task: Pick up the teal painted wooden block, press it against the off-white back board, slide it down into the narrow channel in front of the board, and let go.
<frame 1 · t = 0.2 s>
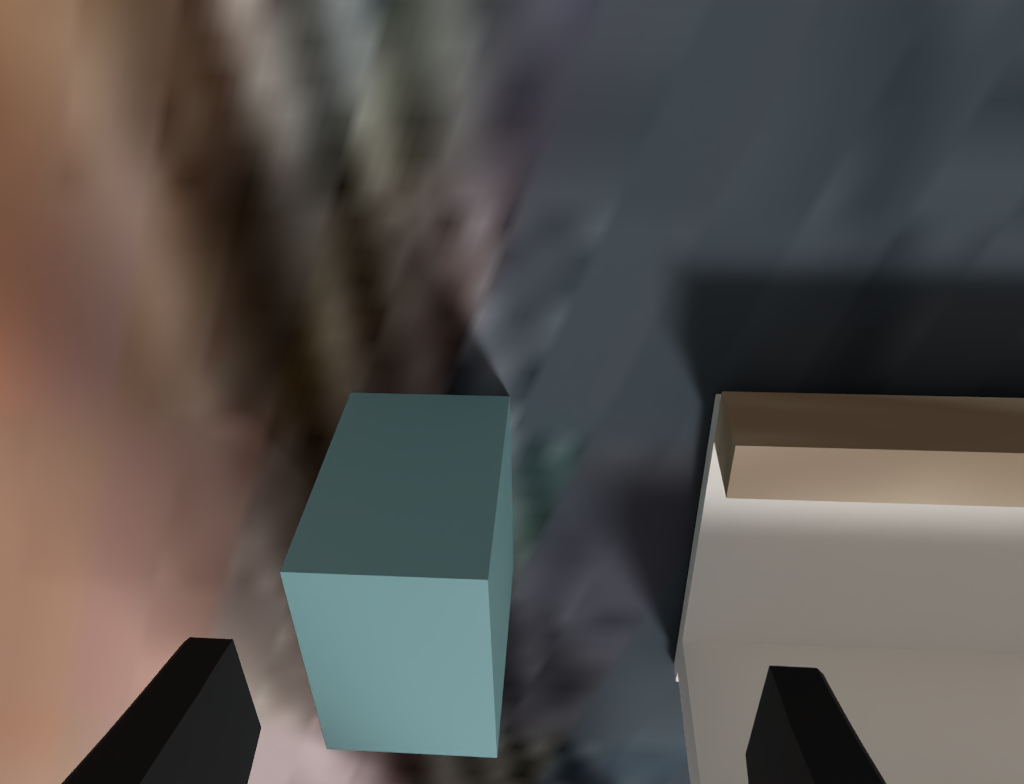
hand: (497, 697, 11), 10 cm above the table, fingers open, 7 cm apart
teal block: (438, 483, 22), on the table
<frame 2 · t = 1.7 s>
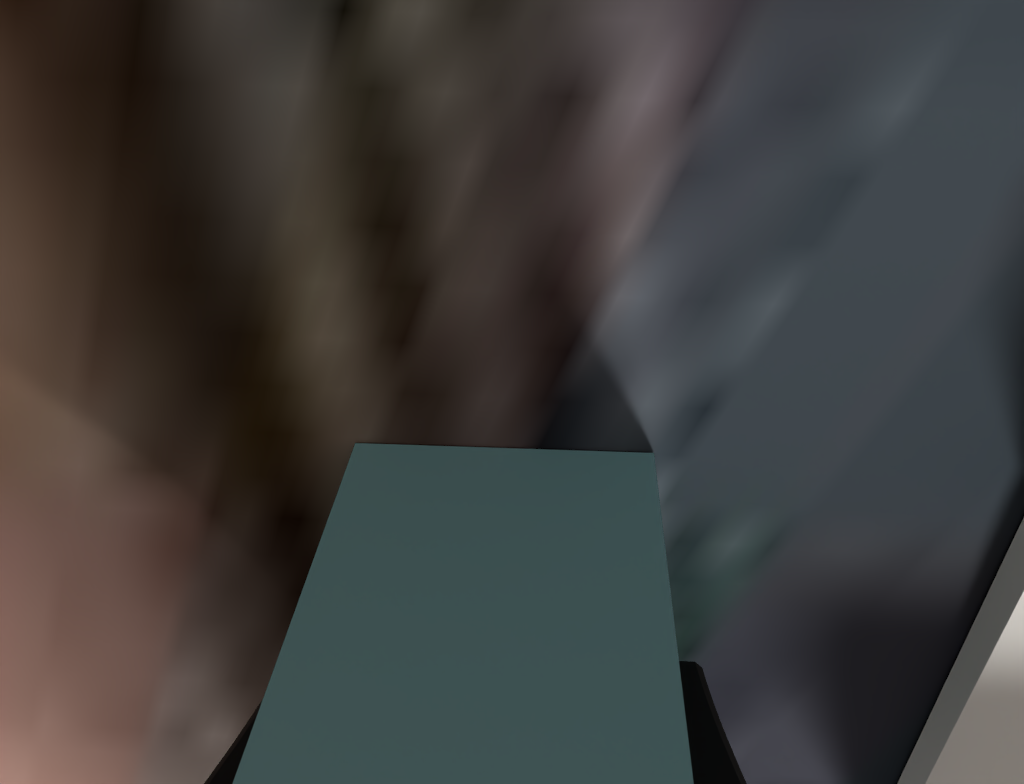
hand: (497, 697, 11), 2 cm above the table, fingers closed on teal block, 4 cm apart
teal block: (506, 599, 13), on the table, touching gripper
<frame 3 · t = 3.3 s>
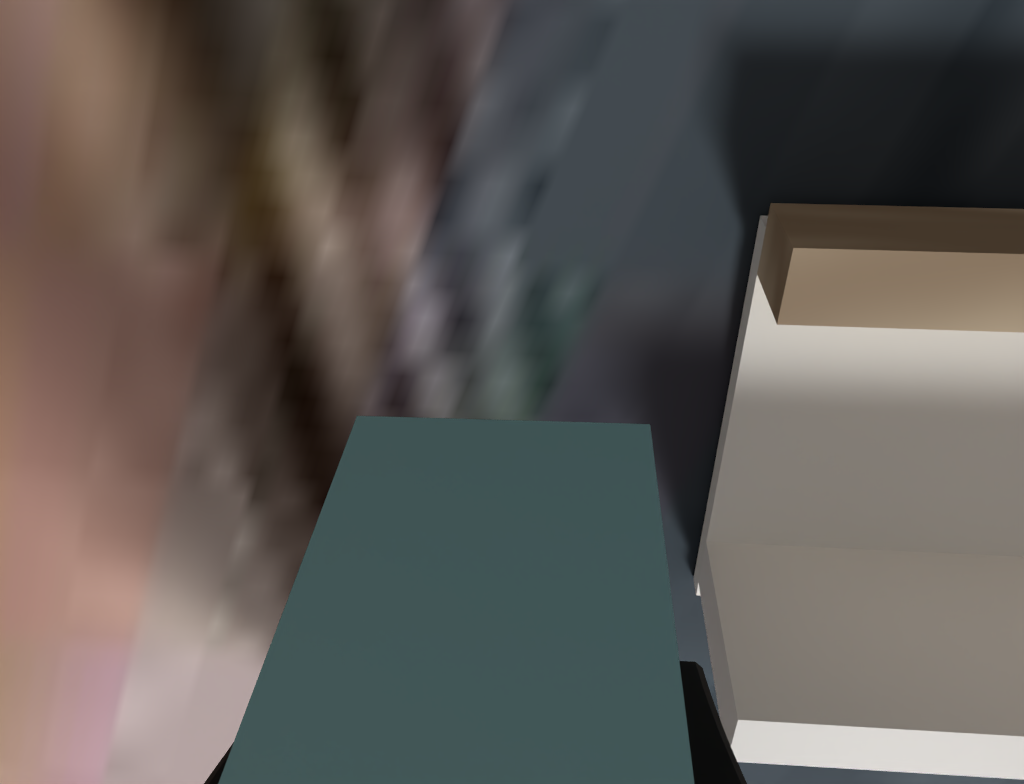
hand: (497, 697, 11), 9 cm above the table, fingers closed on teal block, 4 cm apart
teal block: (505, 573, 13), point 7 cm above the table, touching gripper
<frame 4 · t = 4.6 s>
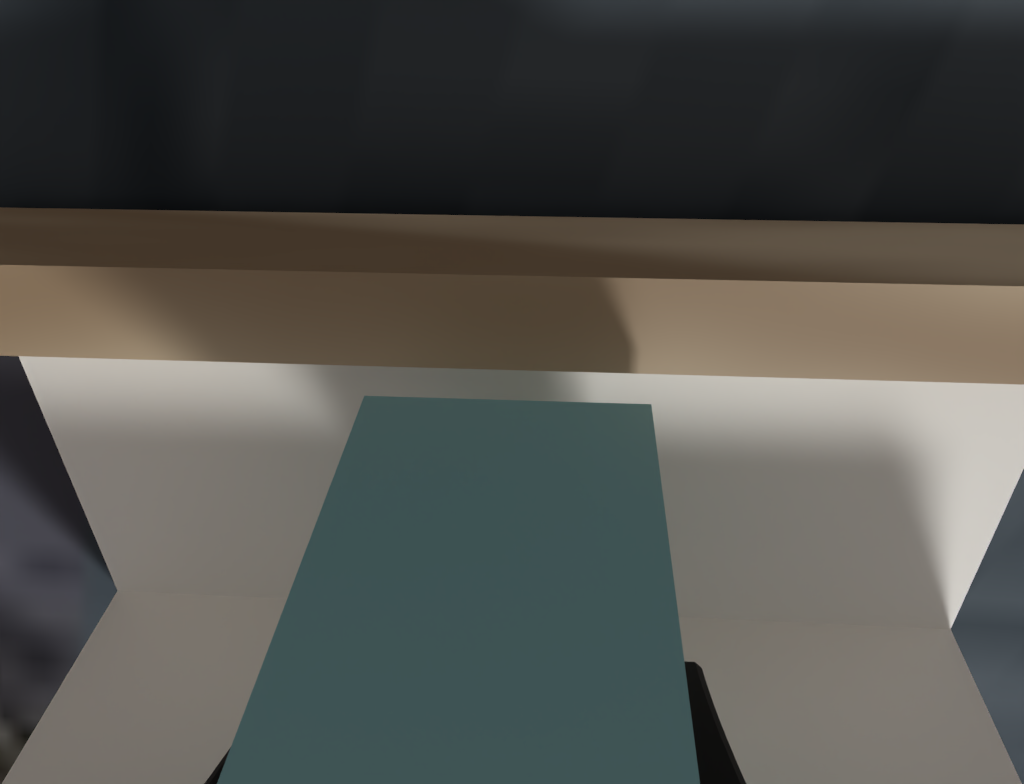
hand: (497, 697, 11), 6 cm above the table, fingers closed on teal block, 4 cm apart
teal block: (509, 553, 13), point 3 cm above the table, touching gripper
cleat board: (522, 476, 16), on the table
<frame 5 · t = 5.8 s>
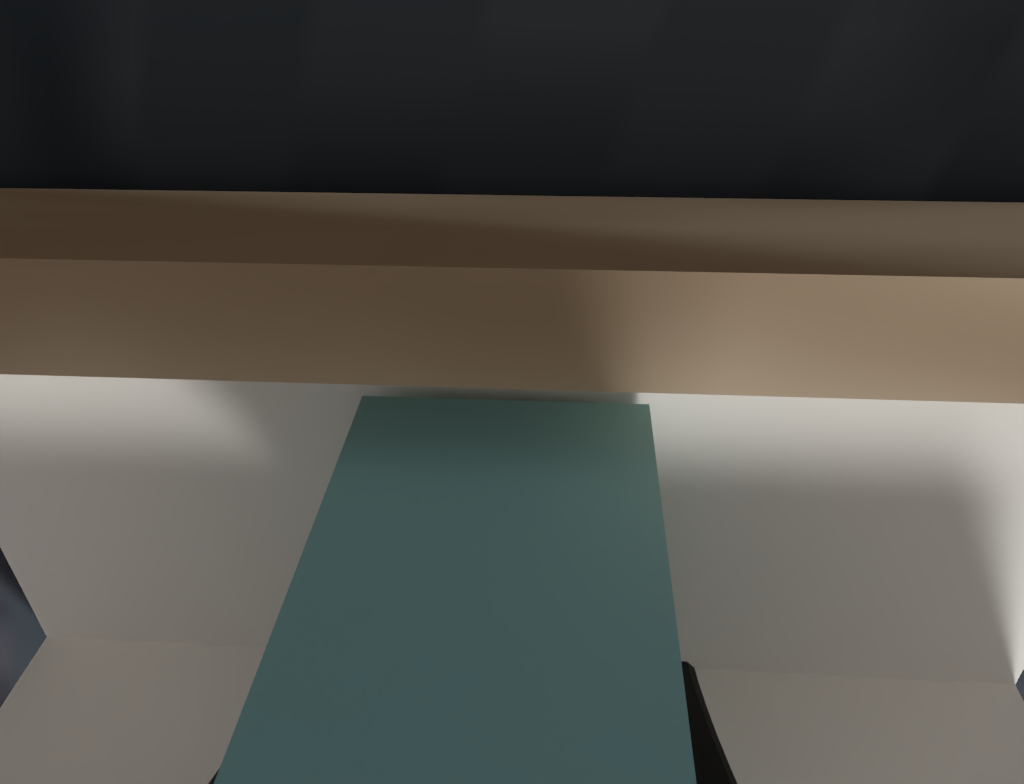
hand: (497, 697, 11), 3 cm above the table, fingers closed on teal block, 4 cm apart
teal block: (507, 553, 13), point 1 cm above the table, touching gripper
cleat board: (513, 508, 14), on the table
when the fingers open (3 cm above the table, at t = 6.1 s): teal block stays where it is, resting on cleat board.
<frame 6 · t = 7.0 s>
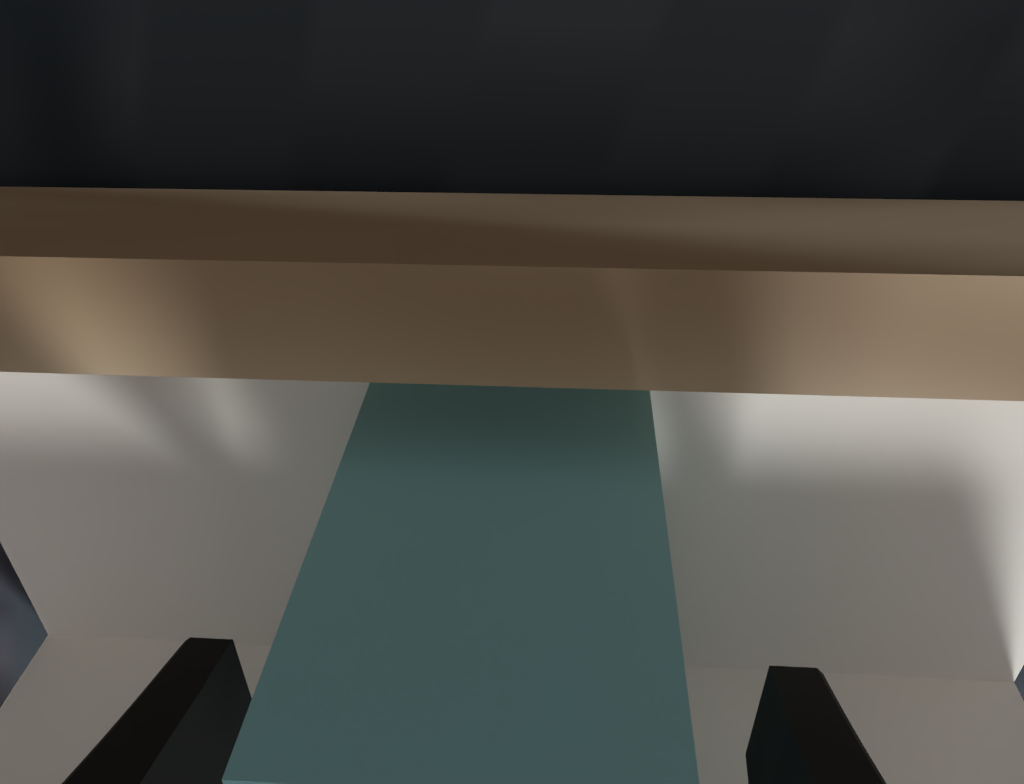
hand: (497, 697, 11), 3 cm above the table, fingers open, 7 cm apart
teal block: (511, 535, 13), point 1 cm above the table, touching cleat board
cleat board: (513, 506, 14), on the table
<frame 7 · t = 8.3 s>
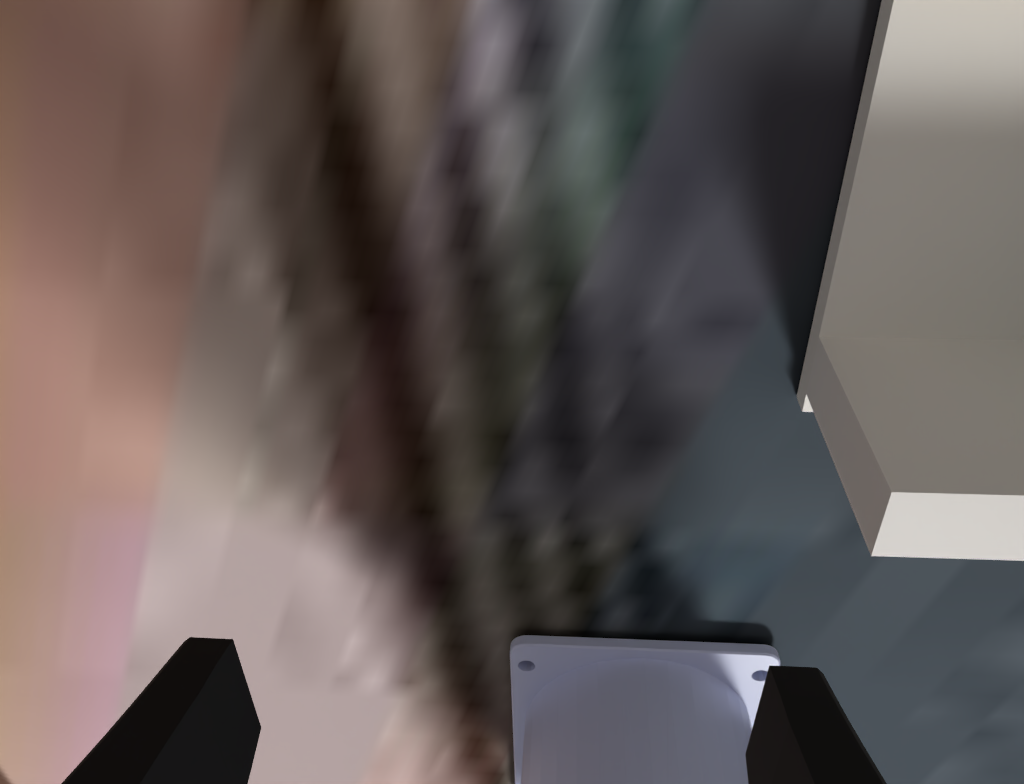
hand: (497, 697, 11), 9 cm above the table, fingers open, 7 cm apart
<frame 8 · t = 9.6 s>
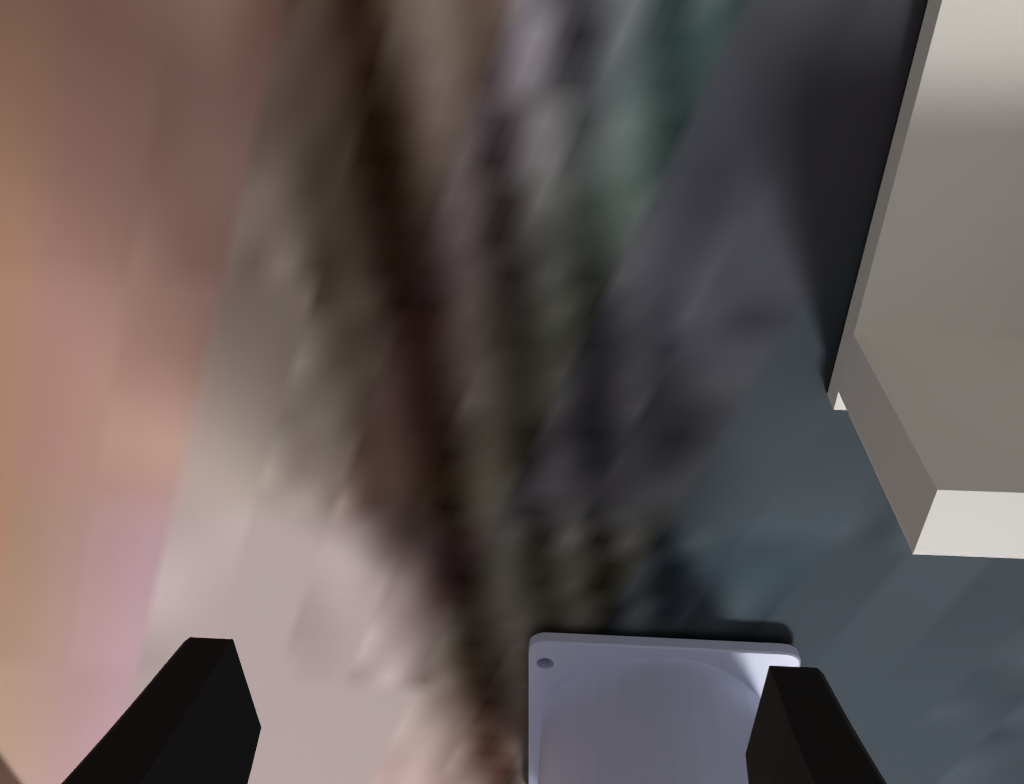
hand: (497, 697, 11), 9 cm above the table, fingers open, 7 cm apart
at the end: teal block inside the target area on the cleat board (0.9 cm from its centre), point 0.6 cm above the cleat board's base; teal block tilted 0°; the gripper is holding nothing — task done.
